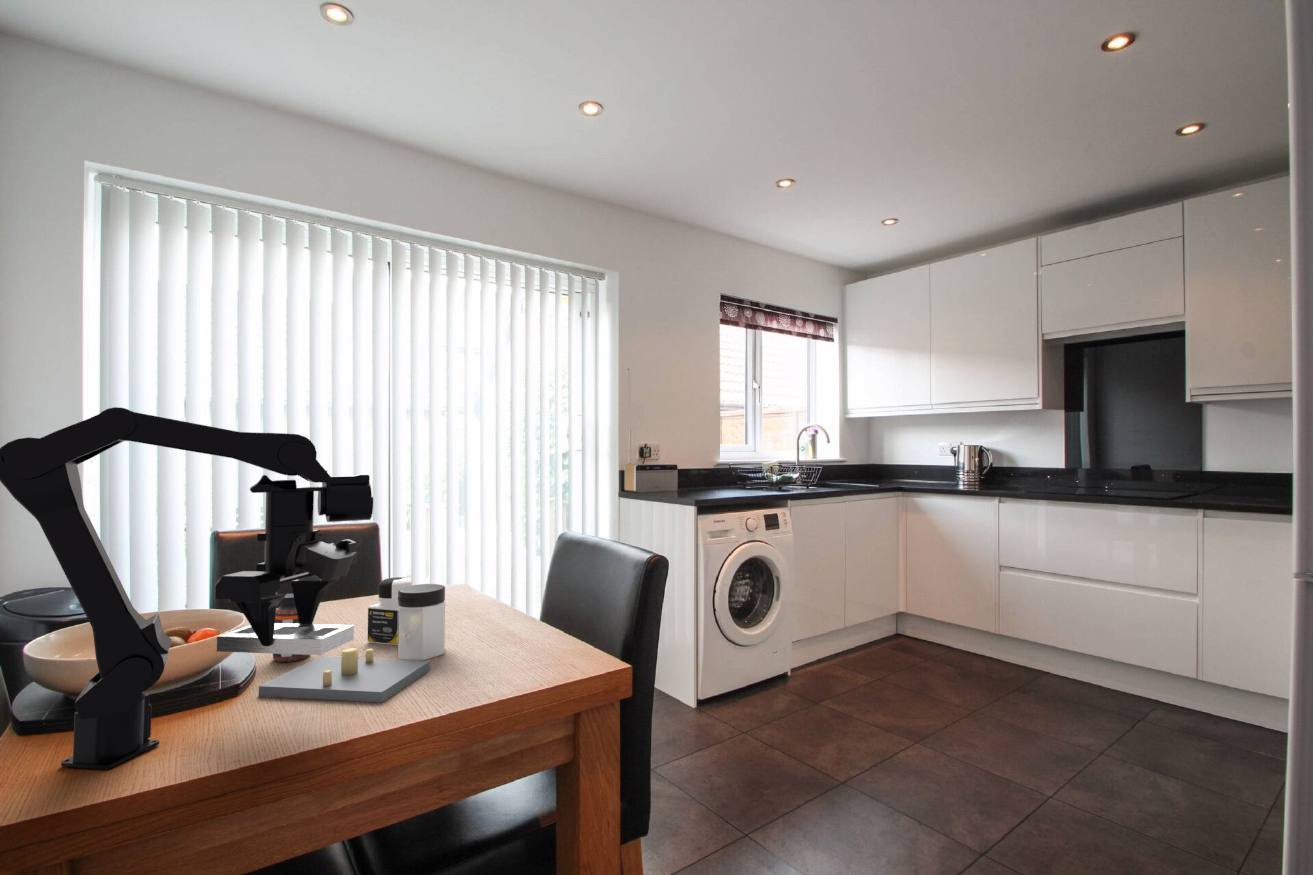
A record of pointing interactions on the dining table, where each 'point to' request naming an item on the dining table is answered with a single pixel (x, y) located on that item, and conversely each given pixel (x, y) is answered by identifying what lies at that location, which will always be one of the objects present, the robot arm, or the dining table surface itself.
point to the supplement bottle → (287, 615)
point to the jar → (421, 622)
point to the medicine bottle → (386, 612)
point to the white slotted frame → (288, 639)
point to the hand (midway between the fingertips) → (287, 637)
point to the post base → (346, 678)
